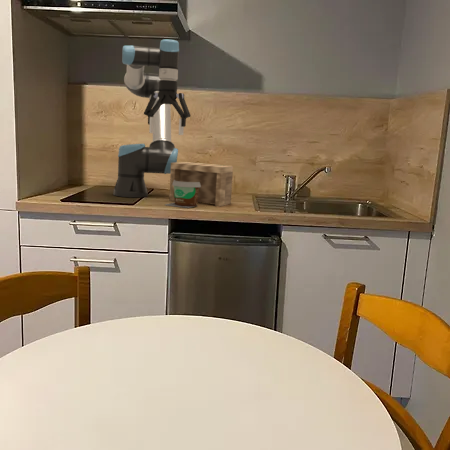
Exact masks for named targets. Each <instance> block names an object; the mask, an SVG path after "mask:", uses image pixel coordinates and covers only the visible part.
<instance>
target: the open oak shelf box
mask: <svg viewBox="0 0 450 450" xmlns="http://www.w3.org/2000/svg"><path fill="white" fill-rule="evenodd" d="M233 173H234V166H233V165H225V164H223V165H222V164H215V163H214V164H213V163H212V164H211V163H202V162H189V161H177V162H175V163H171V174H170V175H169V177H170V180H169V201H170V202H171V201H172V202H175V197H174V186H173V185H172V184H173V181H174V180H175V181H181V182H200V185H201V187H199V192H198V199H197V203H201V202H203V203H202V204H209V203H210V204H211V205H214V206H215V207H219V208H220V207H223V206H226V205H230V204H232V191H233Z"/></svg>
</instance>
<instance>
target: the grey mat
mask: <svg viewBox="0 0 450 450" xmlns="http://www.w3.org/2000/svg"><path fill="white" fill-rule="evenodd" d="M164 206H166V207H167V206H168V207H176V208H183V209H191V208H195V206H178V205H175V202H170V203H166V204H164Z"/></svg>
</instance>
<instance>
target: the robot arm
mask: <svg viewBox="0 0 450 450" xmlns="http://www.w3.org/2000/svg"><path fill="white" fill-rule="evenodd" d="M121 53H122V57H121V58H122V59H121V60H122V61H121V62H122V64H123V65H126V73H125V75H124V77H123V81H124V82H123V83H124V86H125V87H126V89H127V90H128V91H129V92H130V93H131V94H133V95H135V96H137V97H140V98H147V99H149V101H148V103H147V104H146V105H147V106H146V108H145V110H144V112H143V115H144V116H147V125H149V129H148V130H149V134H152V141H151V142H150V144H149V146H146V145H145V143H130V144H122V145H120V146H119V148H118V153H117V157H118V163H117V165H118V167H117V180H116V182H115V185H114V188H113V196H116V197H122V198H145V197H148V189H147V184H146V181H145V174H164V175H168V174H171V163H175V162H178V156H179V149H178V148H176V147H175V143H173V142H172V119H171V118H172V117H171V116H172V115H171V114H172V113H171V112H172V111H171V110H172V109H171V106H173V108H174V109H175V111H176V112H177V114H178V115H179V116H180V118H178V136H184V128H185V127H186V123H187V118H188V119H189V118H191V112H190V110H189V107H188V106H187V102H186V99H185V94H184V93H181V92H179V93H178V84H179V83H178V80H179V56H180V55H179V53H180V43H179V41H178V40H175V39H164V38H163V39H162V40H160V43H159V47H150V46H138V45H133V44H132V45H123V46H122V52H121ZM145 67H151V68H159V69H158V73H151V72H144V71H145ZM177 99H178V101H179V103H180V105H179V103H178V101H177Z"/></svg>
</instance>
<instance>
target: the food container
mask: <svg viewBox="0 0 450 450" xmlns="http://www.w3.org/2000/svg"><path fill="white" fill-rule="evenodd" d="M172 185H173V186H174V197H175V201H174V203H175V205H178V206H196V207H198V202H197V199H198V192H199V187H201V185H200V182H181V181H175V180H174V181H173V184H172Z"/></svg>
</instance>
